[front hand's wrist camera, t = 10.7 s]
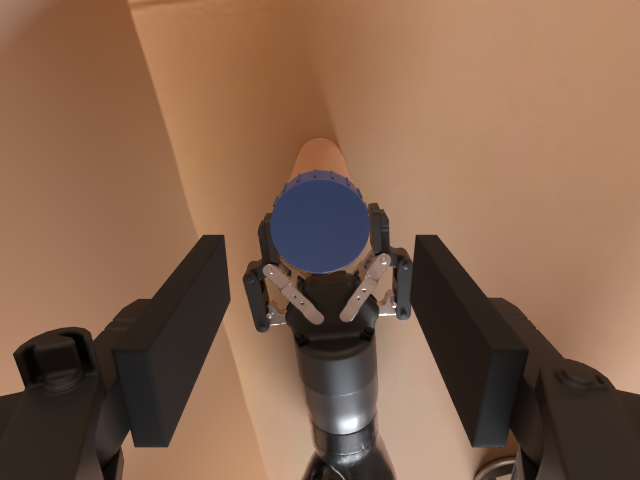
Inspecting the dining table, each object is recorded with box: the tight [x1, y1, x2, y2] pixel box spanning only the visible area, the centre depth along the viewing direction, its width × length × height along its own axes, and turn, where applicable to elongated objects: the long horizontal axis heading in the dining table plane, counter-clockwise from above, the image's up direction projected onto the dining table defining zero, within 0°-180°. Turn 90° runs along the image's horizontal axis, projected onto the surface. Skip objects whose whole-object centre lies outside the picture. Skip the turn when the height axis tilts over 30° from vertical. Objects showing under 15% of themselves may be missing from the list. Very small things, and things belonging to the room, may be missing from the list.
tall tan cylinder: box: [289, 138, 351, 182], centre depth 27 cm, size 4×4×18 cm
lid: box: [270, 169, 370, 273], centre depth 19 cm, size 5×5×2 cm
